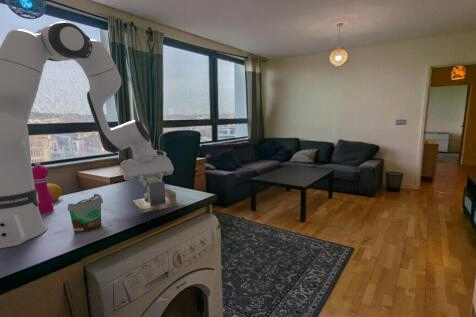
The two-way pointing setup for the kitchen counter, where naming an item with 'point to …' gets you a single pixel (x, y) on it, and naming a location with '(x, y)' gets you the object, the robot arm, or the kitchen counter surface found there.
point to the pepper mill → (42, 188)
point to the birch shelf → (144, 205)
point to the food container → (86, 214)
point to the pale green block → (151, 180)
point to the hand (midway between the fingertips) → (153, 184)
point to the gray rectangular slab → (157, 193)
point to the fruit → (54, 190)
